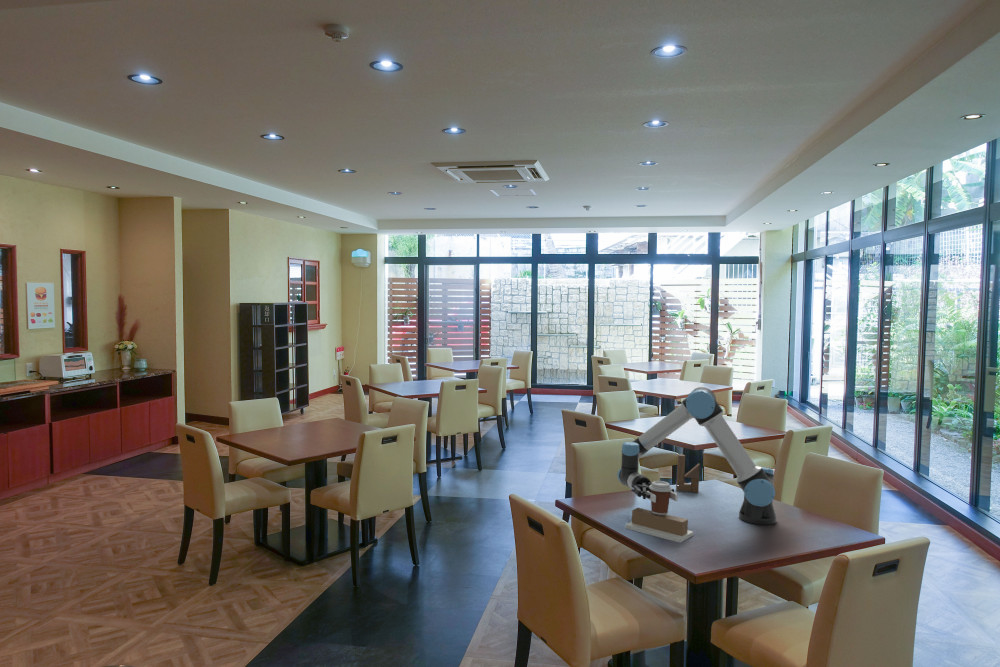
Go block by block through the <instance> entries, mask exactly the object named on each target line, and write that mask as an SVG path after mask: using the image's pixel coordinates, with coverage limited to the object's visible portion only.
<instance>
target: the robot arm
mask: <svg viewBox="0 0 1000 667" xmlns="http://www.w3.org/2000/svg"><path fill="white" fill-rule="evenodd" d="M723 413H724V409H722V407H721V406H720V404H719V403H718V401H717V397H716V394H715V393H714V392H713V391H712V390H711V389H709V388H708V387H704V386H703V387H702V386H700V387H696V388H694V389H693V390H692V391H690V393H689V394H688V395H687V397H685V398H684V399H683V400H682V401H681V404H680V405H678V407H676V408H675V409H674V410H672V411H671V412H670V413H668V414H666V415H665V417H663V418H662V419H661V420H659V421H658V422H656V423H655V424H654V425H653V426H651V427H650V428H648V429H647V430H646V431H645V432H643V433H642V434H641V435H639V436H638V437H637V438H636V439H634V440H632V441H626V442H623V443H622V444H621V445H622V446H621V466H620V468H619V470H618V471H617V473H616V474H617V475H616V477H617V480H618V481H619V482H620V483H621V484H622V485H623V486H625V487H628V488H629V489H631V492H633V493H634V494H635V495H636V496H637V497H638V498H641V497H642V500H646V499H647V500H649V501H650V502H651V501H653V502H656V495H654V494H652V493H651V490H650V489H649V486H650V485H651V484H652V481H651V480H650V479H649V477H646V476H644V475H643V474H641V473H640V472H639V463H640V462H639V461H640V460H639V459H640V458H641V457H642V456H643V455H645V454H646V453H647V452H649V451H650V450H652V448H654V447H655V446H657V445H658V444H659V443H661V442H662V441H663V440H665V439H666V438H668V437H669V436H671V435H672V434H673V433H675V432H676V431H677V430H679V429H680V428H681V427H682V426H684V425H685V424H686V423H688V422H689V421H691V420H692V419H695V421H696V422H697V424H698V425H699V426H701V427H704V429H706V431H707V432H708V434H709V435H710V437H711V438H712V440H713V441H714V443H715V445H716V446H717V448H718V449H719V450H720V452H721V454H722V455H723V457H724V458H725V460H726V461H727V463H728V464H729V465H730V467H731V468H732V470H733V472H734V473H735V474H736V480H735V481H736V483H737V484H738V486H739V487H740V489H741V490H742V492H743V502H742V504H741V507H740V509H739V512H738V518H739V519H740V520H741V521H743V522H746V523H748V524H749V523H750V524H755V525H760V526H761V525H764V526H769V525H774V524H776V523H777V515H776V510H775V508H774V505H773V504H774V503H773V502H774V501H773V500H774V499H775V496H776V489H775V485H774V477H775V473H774V470H773V469H772V468H769V467H763V466H758V465H757V464H756V463H754V461H753V459H752V457H750V455H749V454H748V452H747V451H746V449H745V447H744V446H743V444H742V443H741V442H740V441H739V439H738V437H737V436H736V434H735V433H734V431H733V430H732V428H731V427H730V425H729V424H728V423H727V421H726V420H725V418H724V416H723ZM669 499H670V500H673V501H675V502H678V494H677V493H676V492H675V489H674V488H672V491H670V498H669Z"/></svg>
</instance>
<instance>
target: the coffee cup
mask: <svg viewBox="0 0 1000 667" xmlns="http://www.w3.org/2000/svg"><path fill="white" fill-rule="evenodd" d="M651 483H652V484H651V485H650V486H649V489H650V490H651V493H652V494H654V495H656V502H653V501H651V500H650V504H651V505H650V507H651V508H650V511H651V512H652V513H654V514H658V515H666V514H667V515H669V505H670V499H671V498H670V491H672V489H673V487H672V486H671V485H670V483H669V482H667V481H662V480H654V481H651Z"/></svg>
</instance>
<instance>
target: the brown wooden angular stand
mask: <svg viewBox="0 0 1000 667" xmlns="http://www.w3.org/2000/svg"><path fill="white" fill-rule="evenodd" d="M676 464H677V467H676V468H677V469H676V483H675V489H676V491H678V492H688V493H695V494H696V493H699V490H700V489H699V487H700V486H699V485H700V463H697V464H695V466H694V467H692V469H690V470H689V471H688V472H686V473H685V468H686V455H685V454H678V455H677V463H676ZM685 478H688V479H690V483H687V482H685ZM677 485H679V486H677Z"/></svg>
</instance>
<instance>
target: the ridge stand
mask: <svg viewBox="0 0 1000 667" xmlns="http://www.w3.org/2000/svg"><path fill="white" fill-rule="evenodd" d="M631 512H632V513H631V522H627V523H626V524H625V526H624V527H625V528H624V529H627V530H630V531H634V532H638V533H643V534H645V535H650V536H652V537H656V538H661V539H665V540H668V541H671V542H677V543H679V544H680V543H682V542H685V541H686V540H688V539H689V538H691V537H693V536H694V531H692V530H689V529H688V527H689V524H688V523H689V519H688V518H683V517H680V516H675V515H672V514H666V515H658V514H654V513H652V512H651V509H646V508H641V507H636V508H633V509H632V510H631Z"/></svg>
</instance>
